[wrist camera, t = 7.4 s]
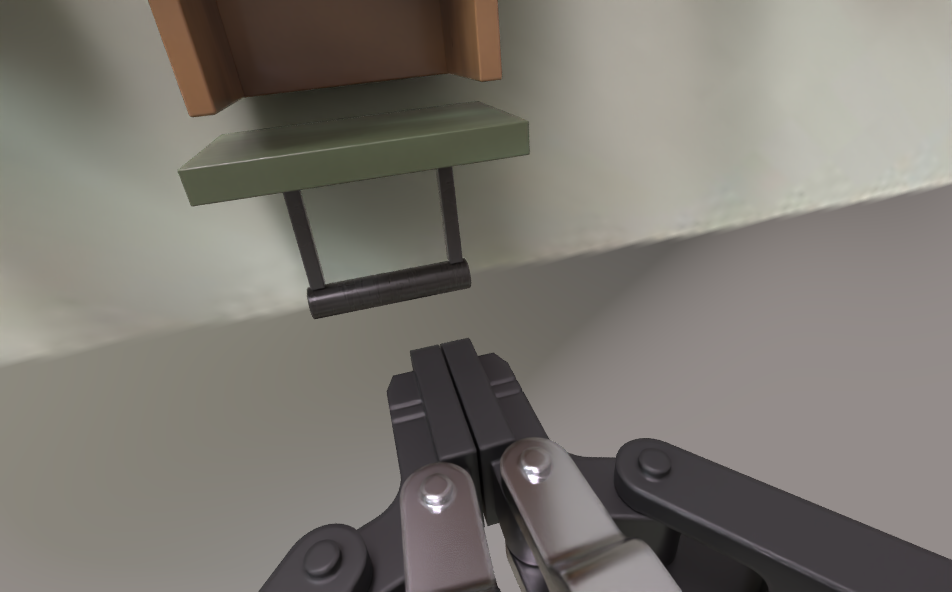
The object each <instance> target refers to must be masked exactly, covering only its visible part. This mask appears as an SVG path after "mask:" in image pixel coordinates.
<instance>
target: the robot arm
mask: <svg viewBox="0 0 952 592" xmlns="http://www.w3.org/2000/svg"><path fill="white" fill-rule="evenodd" d="M410 356H411V361H412V367H413V371H412V372H407V373H403V374H398V375H394V376H393V377H392V380H391V382H390V384H389V387H388V390H387V397H388V403H389V408H390V415H391V420H392V427H393V433H394V439H395V445H396V450H397V456H398V462H399V468H400V474H401V483H400V488H399V492H398V494H397V496H396V498H395V499H394V501H393V502H392V504H391V505H390V506H389V507H388V509H386V510H385V511H384V512H383V513H382V514H381V515H379V516H378V517H376V518H375V519H374V520H372V521H371V522H369V523H367V524H365V525H364V526H362V527H361V528H359V529H357V530H356V529H355V528H353V527H351V526H348V525H344V524H328V525H324V526H322V527H318V528H316V529H314V530H312V531H310V532H309V533H307V534H306V535H304V536H303V537H302V538H301V539H300V540H298V541H297V542H296V543H295V545H294V546H293V547H292V548H291V549H290V551H289V552H288V553H287V555H286V556H285V557H284V559H283V560H282V561H281V563H280V564H279V565H278V567H277V568H276V569H275V571H274V572H273V573H272V574H271V576H270V577H269V578H268V580H267V581H266V582H265V584H264V585H263V586H262V588H261V589H260V590H259V592H501V591H500V589H499V588H498V586H497V583H496V579H495V575H494V571H493V566H492V562H491V557H490V553H489V548H488V544H487V540H486V536H485V531H484V527H485V526H484V516H485V519H486V522H487V526H490V525H493V524H496V523H500V526H501V529H502V532H503V534H504V538H505V543H506V554H507V558H508V561H509V563H510V566H511V568H512V571H513V573H514V575H515V578H516V580H517V582H518V584H519V587H520V589H521V592H952V560H951V559H948V558H946V557H943V556H941V555H938V554H936V553H934V552H931V551H928V550H926V549H923V548H921V547H919V546H916V545H914V544H912V543H909V542H907V541H904V540H902V539H899V538H897V537H895V536H892V535H889V534H887V533H885V532H882V531H880V530H878V529H875V528H872V527H870V526H868V525H865V524H863V523H861V522H858V521H856V520H853V519H851V518H849V517H846V516H844V515H841V514H839V513H836V512H834V511H832V510H829V509H826V508H824V507H822V506H819V505H817V504H814V503H812V502H810V501H807V500H805V499H802V498H800V497H798V496H795V495H793V494H790V493H788V492H785V491H783V490H780V489H778V488H776V487H773V486H770V485H768V484H766V483H764V482H761V481H759V480H756V479H754V478H751V477H749V476H747V475H744V474H741V473H739V472H737V471H734V470H732V469H729V468H727V467H724V466H722V465H720V464H717V463H715V462H712V461H710V460H708V459H705V458H703V457H700V456H698V455H696V454H693V453H691V452H688V451H686V450H683V449H681V448H679V447H676V446H674V445H671V444H669V443H666V442H663V441H661V440H657V439H651V438H640V439H635V440H632V441H629V442H627V443H625V444H624V445H623V446H622V447H621V448H620V449H619V451H618V453H617V455H616V458H609V457H608V458H607V457H603V458H602V457H582V456H577V455H573V454H570V453H568V452H566V450H565V449H564V448H563V447H562V446H560V445H559V444H557V443H556V442H554V441H551V440H550V439H549V438H548V436H547V434H546V433H545V431H544V429H543V427H542V425H541V423H540V421H539V420H538V418H537V416H536V414H535V412H534V410H533V409H532V407H531V405H530V403H529V401H528V399H527V397H526V396H525V394H524V392H522V388H521V386H520V384H519V383H518V381H517V380H516V377H515V375H514V373H513V371H512V370H511V368H510V366H509V364H508V363H507V362H506V361H504V360H503V359H502V358H500V357H499V356H497V355H496V354H495V353H490V354H485V355H481V356H477V353H476V351H475V349H474V347H473V345H472V342H471V341H470V339H469V338H465V339H461V340H456V341H451V342H447V343H442V344H440V346H439V345H434V346H429V347H425V348H420V349H416V350H411V351H410ZM483 513H484V516H483Z"/></svg>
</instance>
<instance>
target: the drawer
mask: <svg viewBox="0 0 952 592" xmlns="http://www.w3.org/2000/svg"><path fill="white" fill-rule="evenodd" d="M148 2H149V5H150V7H151V10H152V13H153V16H154V19H155V21H156V24H157V27H158V30H159V33H160V35H161V38H162V41H163V44H164V47H165V49H166V52H167V55H168V58H169V61H170V63H171V66H172V69H173V72H174V75H175V77H176V80H177V83H178V86H179V89H180V91H181V94H182V97H183V100H184V103H185V105H186V108H187V111H188V114H189V115H190V117H200V116H208V115H215V114H217V113H218V112H220V111H222V110H223V109H225V108H227V107H228V106H230V105H232V104H234V103H235V102H237V101H239V100H240V99H242V98H246V97H254V96H263V95H271V94H280V93H288V92H297V91H305V90H314V89H322V88H331V87H339V86H348V85H356V84H365V83H373V82H382V81H390V80H399V79H407V78H416V77H424V76H433V75H441V74H452V75H456V76H460V77H464V78H468V79H472V80H476V81H480V82H486V81H494V80H501V79H502V65H501V48H500V30H499V13H498V0H148ZM529 154H530V148H529V122H528V121H527V120H525V119H522V118H520V117H517V116H514V115H512V114H509V113H507V112H504V111H502V110H499V109H497V108H494V107H491V106H489V105H486V104H484V103H481V102H479V101H476V102H468V103H460V104H453V105H445V106H437V107H429V108H422V109H414V110H406V111H399V112H391V113H383V114H376V115H368V116H360V117H352V118H345V119H337V120H329V121H322V122H314V123H306V124H299V125H291V126H283V127H275V128H268V129H260V130H252V131H245V132H237V133H229V134H222V135H221V136H219V137H218V138H217V139H216V140H214V141H213V142H212V143H211V144H209V145H208V146H207V147H206V148H204V149H203V150H202V151H201V152H199V153H198V154H197V155H196V156H194V157H193V158H192V159H191V160H190V161H188V162H187V163H186V164H185V165H183V166H182V167H181V168H180V169H178V174H179V176H180V179H181V181H182V184H183V186H184V189H185V192H186V194H187V197H188V199H189V202H190V204H191V206H199V205H205V204H212V203H218V202H225V201H231V200H238V199H244V198H251V197H257V196H264V195H270V194H277V193H283V195H284V199H285V202H286V205H287V209H288V212H289V216H290V219H291V223H292V226H293V230H294V233H295V237H296V240H297V243H298V247H299V250H300V254H301V257H302V261H303V264H304V268H305V271H306V275H307V278H308V281H309V285H310V287H308V288H307V299H308V304H309V308H310V311H311V315H312V317H313V318H314V319H318V318H323V317H328V316H333V315H338V314H343V313H348V312H353V311H357V310H363V309H368V308H372V307H378V306H383V305H388V304H392V303H397V302H402V301H407V300H412V299H417V298H422V297H427V296H431V295H437V294H442V293H447V292H452V291H457V290H462V289H466V288H470V287H471V276H470V271H469V267H468V263H467V261H466V259H465V258H462V250H461V241H460V232H459V223H458V214H457V205H456V196H455V188H454V179H453V170H452V166H458V165H465V164H471V163H478V162H484V161H491V160H497V159H504V158H510V157H517V156H523V155H529ZM432 169H436V175H437V182H438V190H439V198H440V206H441V213H442V221H443V229H444V237H445V244H446V252H447V259H448V261H444V262H439V263H434V264H429V265H423V266H418V267H413V268H408V269H402V270H397V271H392V272H387V273H381V274H376V275H371V276H366V277H360V278H355V279H350V280H345V281H339V282H334V283H329V284H325V278H324V275H323V271H322V267H321V264H320V260H319V256H318V253H317V249H316V245H315V241H314V238H313V234H312V230H311V227H310V223H309V219H308V216H307V212H306V208H305V205H304V201H303V197H302V193H301V190H303V189H309V188H316V187H322V186H329V185H335V184H342V183H348V182H355V181H361V180H368V179H374V178H381V177H387V176H394V175H400V174H406V173H413V172H419V171H426V170H432Z"/></svg>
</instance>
